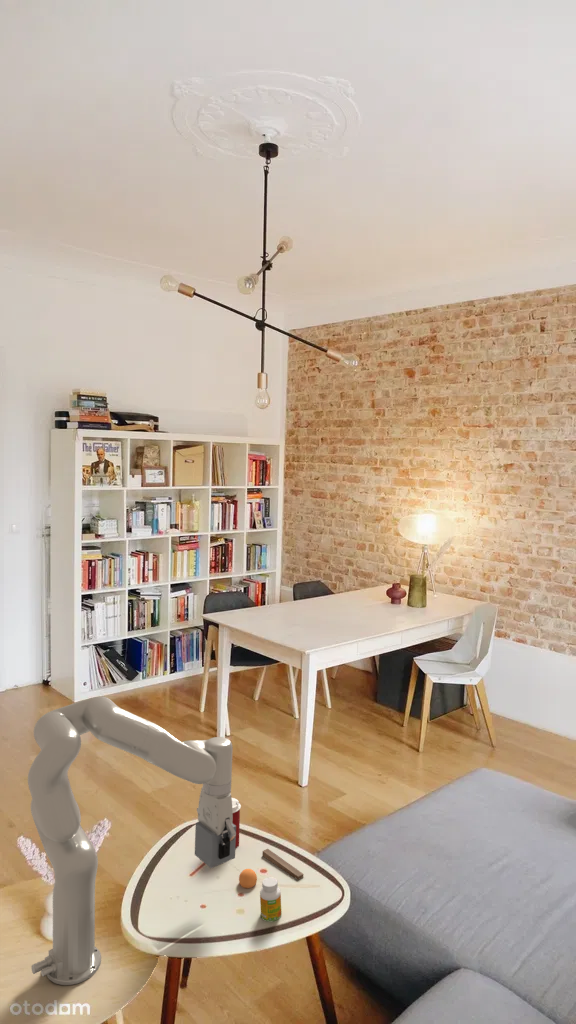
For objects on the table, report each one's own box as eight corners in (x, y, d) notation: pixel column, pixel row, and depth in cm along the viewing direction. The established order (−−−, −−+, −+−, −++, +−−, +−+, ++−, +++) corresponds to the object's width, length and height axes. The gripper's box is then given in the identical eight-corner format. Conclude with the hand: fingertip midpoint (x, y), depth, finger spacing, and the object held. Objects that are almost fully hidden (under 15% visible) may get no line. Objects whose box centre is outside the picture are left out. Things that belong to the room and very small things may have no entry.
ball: (263, 879, 190) (252, 895, 188) (252, 871, 194) (241, 886, 191) (254, 870, 188) (243, 886, 185) (243, 862, 191) (232, 878, 189)
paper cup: (244, 839, 212) (242, 796, 211) (240, 854, 205) (238, 810, 203) (219, 839, 213) (217, 796, 212) (214, 853, 206) (212, 809, 204)
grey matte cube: (210, 868, 176) (212, 835, 175) (194, 854, 182) (195, 822, 181) (234, 858, 181) (236, 826, 180) (218, 845, 187) (219, 814, 186)
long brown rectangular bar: (297, 885, 191) (298, 876, 191) (262, 858, 203) (262, 850, 203) (303, 882, 193) (303, 873, 192) (267, 856, 205) (267, 848, 204)
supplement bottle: (267, 927, 174) (266, 891, 173) (257, 915, 178) (255, 880, 177) (285, 918, 177) (284, 883, 176) (274, 907, 181) (273, 872, 180)
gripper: (187, 777, 184) (185, 840, 185) (224, 803, 171) (222, 870, 172) (210, 770, 189) (208, 831, 190) (248, 794, 176) (245, 860, 177)
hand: (214, 849), depth 181 cm, fingers closed on grey matte cube, 7 cm apart
